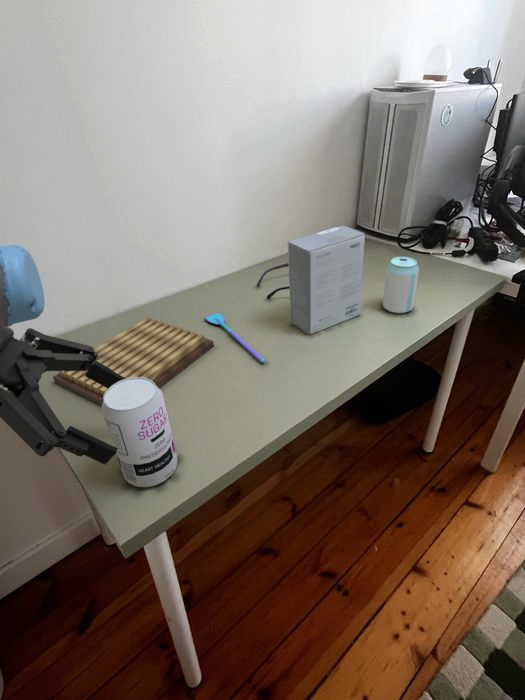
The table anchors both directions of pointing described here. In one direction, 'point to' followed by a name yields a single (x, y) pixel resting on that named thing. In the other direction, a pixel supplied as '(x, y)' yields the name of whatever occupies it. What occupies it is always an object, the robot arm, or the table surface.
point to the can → (400, 285)
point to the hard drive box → (325, 278)
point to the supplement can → (140, 431)
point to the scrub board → (140, 357)
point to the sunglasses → (278, 288)
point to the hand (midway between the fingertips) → (121, 420)
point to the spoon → (232, 333)
